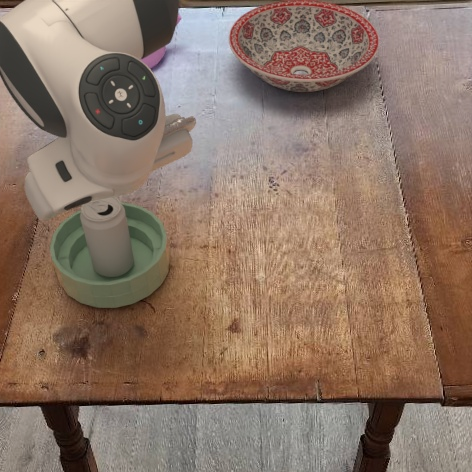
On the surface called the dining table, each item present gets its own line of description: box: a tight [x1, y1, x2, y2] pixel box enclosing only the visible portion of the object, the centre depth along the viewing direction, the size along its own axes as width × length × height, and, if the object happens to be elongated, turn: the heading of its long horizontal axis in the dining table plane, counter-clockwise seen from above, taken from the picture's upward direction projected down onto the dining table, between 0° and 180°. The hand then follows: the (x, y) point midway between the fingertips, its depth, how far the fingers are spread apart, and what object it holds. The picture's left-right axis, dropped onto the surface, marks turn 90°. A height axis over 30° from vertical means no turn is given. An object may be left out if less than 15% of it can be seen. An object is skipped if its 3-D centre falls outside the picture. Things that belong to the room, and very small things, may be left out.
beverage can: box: [80, 196, 134, 277], centre depth 100 cm, size 6×6×12 cm
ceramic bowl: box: [228, 0, 380, 93], centre depth 135 cm, size 29×29×8 cm
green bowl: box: [49, 201, 171, 309], centre depth 103 cm, size 17×17×6 cm
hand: (109, 185), depth 86 cm, fingers open, 8 cm apart
